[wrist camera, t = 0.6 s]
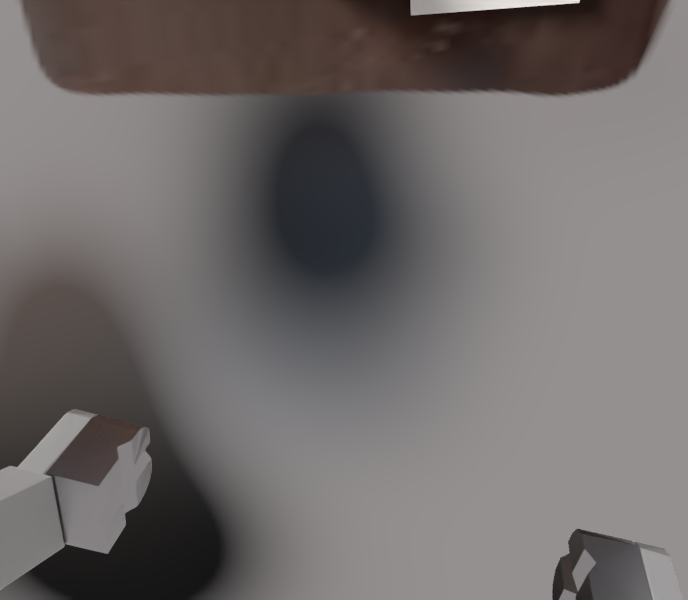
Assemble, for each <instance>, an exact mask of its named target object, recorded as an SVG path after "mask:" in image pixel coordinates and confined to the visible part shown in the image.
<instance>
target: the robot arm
mask: <svg viewBox="0 0 688 600" xmlns="http://www.w3.org/2000/svg"><path fill="white" fill-rule="evenodd" d="M149 443H150V436H149V429H147V428H145V427H142V426H138V425H135V424H131V423H127V422H123V421H119V420H116V419H112V418H108V417H105V416H101V415H95V414H92V413H88V412H84V411H80V410H76V409H74V410H72V411H70V412H68V413H66V414H65V415H64V416H63V417H62V418H61V420H60V421H59V422H58V423H57V424H56V425H55V426H54V427H53V428H52V430H51V431H50V432H49V433H48V434H47V435H46V436H45V437H44V438H43V440H42V441H41V442H40V443H39V444H38V445H37V446H36V448H34V450H33V451H32V452H31V453H30V454H29V455H28V456H27V457H26V458H25V460H24V461H23V462H22V463H21V464H20V465H19V466H18V467H12V466H9V467H7V468H5V469H2V470H0V590H1V589H2V588H3V587H5V586H7V585H8V584H10V583H11V582H13V581H14V580H16V579H17V578H19V577H20V576H22V575H23V574H25V573H26V572H28V571H29V570H31V569H32V568H34V567H35V566H36V565H38V564H39V563H41V562H42V561H44V560H45V559H47V558H48V557H50V556H51V555H53V554H54V553H56V552H57V551H59V550H60V549H62V548H63V547H64V544H68V545H72V546H76V547H80V548H85V549H89V550H93V551H98V552H103V553H106V554H107V553H109V551H110V549H111V548H112V546H113V545H114V543H115V541H116V540H117V538H118V537H119V535H120V533H121V532H122V530H123V529H124V527H125V525H126V521H125V513H126V512H128V511H129V510H131V509H133V508H135V507H137V505H138V504H139V503H140V501H141V499H142V497H143V495H144V494H145V491H146V489H147V486H148V483H149V481H150V476H151V469H152V463H151V457H150V456H149V455H148V454H147V452H146V451H145V449H146V447H147V446H148V444H149ZM568 544H569V554H567V555H565V556H563V557H561V558H560V560H559V562H558V565H557V567H556V569H555V574H554V580H553V589H552V599H553V600H683V598H682V595H681V591H680V588H679V585H678V581H677V578H676V575H675V572H674V568H673V566H672V562H671V559H670V555H669V554H668V552H667V551H666V550H665V549H664V548H660V547H655V546H651V545H647V544H642V543H638V542H633V541H630V540H625V539H621V538H617V537H613V536H608V535H604V534H599V533H595V532H590V531H585V530H581V529H576V530H575V531H574V532H573V533H572V535H571V537H570V539H569V541H568Z"/></svg>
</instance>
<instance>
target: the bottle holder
mask: <svg viewBox="0 0 688 600" xmlns="http://www.w3.org/2000/svg"><path fill="white" fill-rule="evenodd" d="M571 3H580V0H410V10H411V15H425V14H438V13H451V12H465V11H478V10H491V9H504V8H518V7H531V6H544V5H558V4H571Z"/></svg>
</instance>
